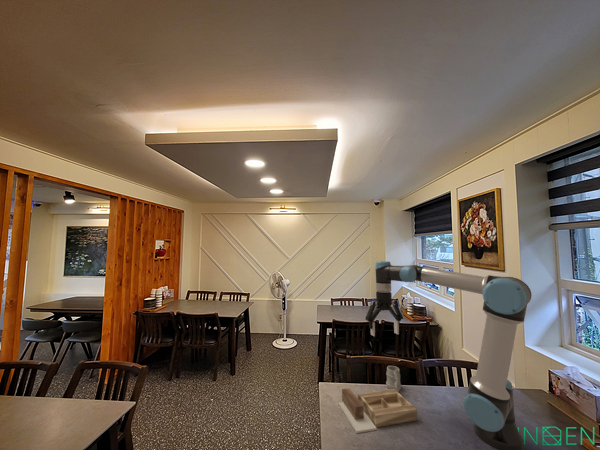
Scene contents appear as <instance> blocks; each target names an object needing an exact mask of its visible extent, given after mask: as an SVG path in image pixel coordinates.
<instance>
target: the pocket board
mask: <svg viewBox="0 0 600 450" xmlns="http://www.w3.org/2000/svg"><path fill="white" fill-rule="evenodd" d="M357 398H358V400H359V401H360V402H361V403H362V405H363V406H364V412H365V413H366V415H367V416H368V417H369V419H370V420H371V421H372V423H373V424H374V425H375V426H376V428H380V427H385V426H386V427H387V426H391V425H398V424H403V423H409V422H410V423H411V422H415V421H418V415H417V414H418V409H417V408H416V407H415V406H414V405H413V404H412V403H411V402H410V401H408V400H407V399H406V398H405V397H404V396H403V395H401V394H400V393H399V392H397V391H396V390H395V389H383V390H376V391H369V392H359V393H357Z"/></svg>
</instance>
